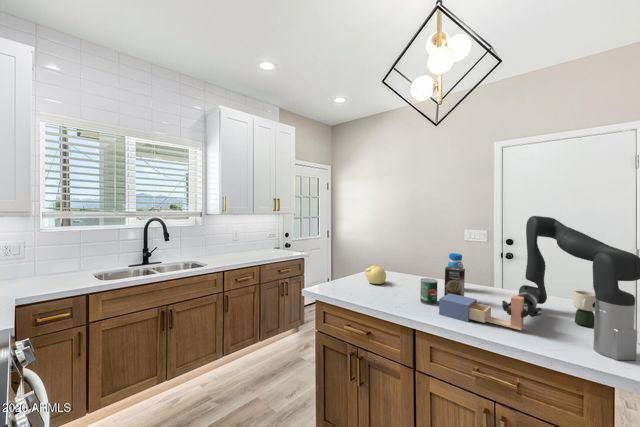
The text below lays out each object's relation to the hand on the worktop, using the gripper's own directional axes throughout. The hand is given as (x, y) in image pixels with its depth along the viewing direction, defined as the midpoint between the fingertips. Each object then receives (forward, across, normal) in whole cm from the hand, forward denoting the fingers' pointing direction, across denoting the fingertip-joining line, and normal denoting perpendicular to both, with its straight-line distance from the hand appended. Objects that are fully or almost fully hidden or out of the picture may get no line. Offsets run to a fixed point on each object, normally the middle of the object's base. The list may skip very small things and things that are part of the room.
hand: (515, 313), depth 113 cm
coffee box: (-22, -31, +7) cm, 38 cm away
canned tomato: (-10, -38, +7) cm, 40 cm away
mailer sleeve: (-3, -22, +7) cm, 23 cm away
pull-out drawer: (-3, -10, +6) cm, 12 cm away
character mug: (-27, +18, +7) cm, 34 cm away
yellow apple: (-21, -77, +7) cm, 80 cm away
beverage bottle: (-41, -37, +7) cm, 56 cm away
